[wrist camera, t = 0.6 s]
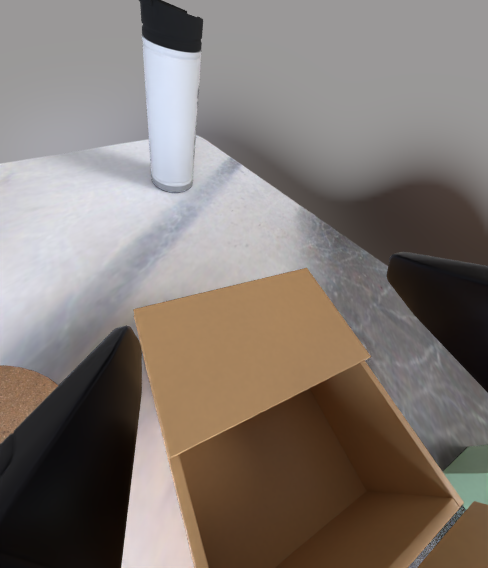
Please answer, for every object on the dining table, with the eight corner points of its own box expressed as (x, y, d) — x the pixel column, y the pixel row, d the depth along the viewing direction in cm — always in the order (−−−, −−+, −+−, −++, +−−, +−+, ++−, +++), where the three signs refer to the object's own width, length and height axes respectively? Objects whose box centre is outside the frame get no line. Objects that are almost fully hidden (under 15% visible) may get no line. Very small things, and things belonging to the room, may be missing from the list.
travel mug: (141, 178, 39) (120, -19, 23) (174, 167, 43) (175, -8, 27) (168, 199, 37) (166, 3, 22) (200, 185, 41) (217, 11, 26)
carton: (370, 494, 20) (478, 504, 13) (209, 631, 14) (247, 782, 7) (272, 319, 29) (306, 266, 21) (144, 361, 23) (131, 308, 15)
